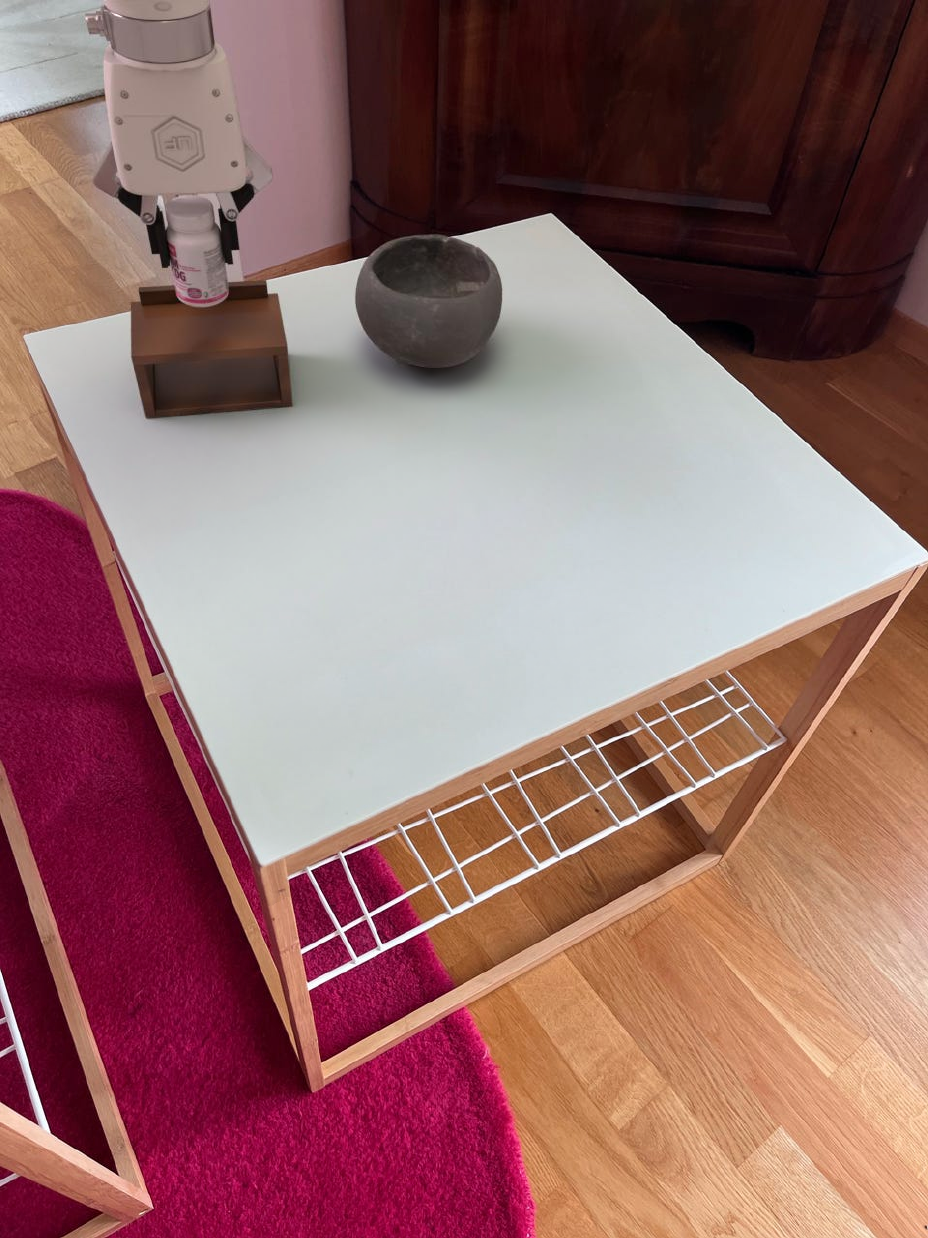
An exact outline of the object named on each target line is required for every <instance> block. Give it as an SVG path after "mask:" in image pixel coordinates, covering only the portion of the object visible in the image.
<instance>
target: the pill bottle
mask: <svg viewBox="0 0 928 1238" xmlns="http://www.w3.org/2000/svg"><path fill="white" fill-rule="evenodd" d="M164 209H165V216H166V222H167V225H166V227H165V228H166V233H165V234H166V241H167V246H168V251H169V257H170V268H171V273H172V277H173V285H175V291H176V295H177V297H178V299H179V300H180V301H182V302H183V303H185V304H187V305H189V306H193V307H210V306H213V305H216V304H218V303H220V302H222V301H224V300H225V299H226V298H227V296H228V293H229V287H228V282H229V281H228V272H227V266H226V263H225V258H224V251H223V243H222V236H221V228H220V225H218V223H217V222H216V217H215V210H214V205H213V203H212V201H211V200H209V199H208V198H206V197H204V196H200V195H196V194H185V195H178V196H176V197H173V198H171V199H169V201H167V202H166V204H165V208H164Z"/></svg>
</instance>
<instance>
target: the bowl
mask: <svg viewBox="0 0 928 1238" xmlns="http://www.w3.org/2000/svg"><path fill="white" fill-rule="evenodd" d="M361 266H362V267H361V268H360V271H359V274H358V277H357V281H356V284H355V295H354V304H355V310H356V314H357V317H358V319H359V322H360V324H361V327H362V329H363V331H364V333H365V334H366V336H367V337H368V338H369V340H371V341H372V342H373V344H374V345H375V346H376V347H377V348H378V349H379V350H380V351H381V352H382V353H384V354H385V355H387V356H388V357H389V358H392V359H394V360H396V361H398V362H400V363H403V364H406V365H410V366H415V367H421V368H425V369H426V368H427V369H428V368H429V369H430V368H431V369H432V368H435V369H438V368H450V367H456V366H457V365H461V364H464V363H465V362H467V361H468V360H470V359H472V358H474V357H475V356H476V355H478V354H479V353H480V352H481V351H482V350H483V349H484V348H485V346H487V344H488V343H489V341H490V339H491V337H492V335H493V334H494V332H495V329H496V328H497V326H498V323H499V321H500V318H501V314H502V307H503V305H502V304H503V285H502V280H501V279H502V278H501V275H500V273H499V270H498V267H497V265H496V264H495V262H494V260H493V259H492V258H491V257H490V256H489V255H488V254H487V253H486V252H485V251H483V250H482V248H480V247H479V246H475V245H474V244H472V243H469V242H467V241H464V240H462V239H459V238H456V237H453V236H447V235H444V234H417V235H409V236H403V237H399V238H395V239H392V240H390V241H387V242H385V243H384V244H382V245H380V246H379V247H378V248H376V249H375V250H374V251H373V252H372V253H370V254H369V255H368V257H367V258H366V259H365V261H364V262H363V265H361Z"/></svg>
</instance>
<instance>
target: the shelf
mask: <svg viewBox="0 0 928 1238" xmlns="http://www.w3.org/2000/svg"><path fill="white" fill-rule="evenodd" d="M228 287H229V293H228V296H227V298H226V299H225V300H224V301H222V302H220V303H218V304H216V305H213V306H210V307H193V306H189V305H187V304H185V303H183V302H182V301H180V300H179V299H178V297H177V295H176V291H175V285H174V284H173V285H155V286H153V285H152V286H139V287H138V295H139V300H138V301H130V358H131V361H132V365H133V366H132V367H133V370H134V374H135V379H136V382H137V387H138V391H139V396H140V401H141V404H142V408H143V413H144V417H145V418H146V419H153V418H155V419H156V418H165V417H166V418H167V417H177V416H178V417H180V416H189V415H202V414H203V415H204V414H213V413H214V414H216V413H226V412H227V413H229V412H237V411H238V412H240V411H252V410H264V409H265V410H266V409H276V408H287V407H288V408H289V407H293V395H292V385H291V384H292V381H291V373H290V360H289V347H288V342H287V335H286V330H285V325H284V319H283V314H282V309H281V304H280V298H279V294H278V293H277V292H276V293H268V283H267V280H266V279H261V280H259V279H258V280H243V281H228Z"/></svg>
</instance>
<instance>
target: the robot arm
mask: <svg viewBox="0 0 928 1238" xmlns="http://www.w3.org/2000/svg"><path fill="white" fill-rule="evenodd" d="M102 2H103V6H100V10H96V11H95V12H94V13H93V12H92V13H90V12H89V13H85V20H86V21H85V22H86V27H87V31H88V34H89V35H99V36H100V37H105V39H106V42H110V44H109V45H107V46H106V48H105V50H104V53H103V64H102V65H103V86H104V96H105V97H104V98H105V105H106V111H107V118H108V126H109V132H110V137H111V141H110V143H109V145H108V147H107V148H106V150H105V152H104V154H103V155H102V157H101V158H100V161H99V162H98V164H97V166H96V168H95V170H94V171H93V174H92V183H93V186H94V187H96V189H99V190H100V191H102V192H103V193H105V194H107V195H109V196H110V197H112V198H115V199H117V200H118V201H119V203H121V205H123V206H124V207H126V208H127V209H128V210H130V211H131V212H132V213H134V214H136V216H137V217H139V218H140V220H141V222H142V223H143V224H144V225H145V226H146V231H147V236H148V243H149V247H150V252H151V255H159V259H160V264H161V265H160V266H161V268H162V269H168V268H169V267H171V262H170V257H169V251H168V246H167V241H166V234H165V233H166V228H167V227H166V223H165V217H164V212H163V210H161V208H160V206H159V205H158V201H159V196H185V195H205V194H206V195H207V194H214V195H215V196H216V198H217V201H218V203H219V208H218V209H217V213H218V219H219V220H218V221H219V228H220V230H221V236H222V243H223V251H224V258H225V264H227V266H230V265H234V258H233V251H240V240H239V233H238V225H237V224H238V223H237V220H238V219H239V217H240V213H241V212H242V211H243V210H244V209H245V208H246V207H247V206H248V204H250V202H251V201H252V200H253V199H254V197H255V195H256V194H257V193H259V192H260V191H262V190H263V189H264V188H265V187H266V186H268V185H269V184H270V183H271V182H272V181H273V180H274V173H273V169H272V167H271V165H270V164H269V163H268V162H267V160H265V158H264V157H263V156H262V155H261V154H260V153H259V151H257V149H255V147H254V146H253V145H252V144H251V142H249V140H248V139H247V138H246V137H245V136H244V135H243V130H242V121H241V117H240V109H239V104H238V97H237V93H236V88H235V87H236V86H235V83H234V79H233V75H232V71H231V68H230V63H229V60H228V57H227V55H226V52H225V49H224V48H223V46H222V45H220V44H219V43H218V42H216V41H215V36H214V35H215V34H214V26H213V25H214V24H213V17H212V10H211V1H210V0H103V1H102ZM247 169H249V170H250V172H249V173H248V174H247ZM116 174H118V176H117V175H116Z"/></svg>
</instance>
